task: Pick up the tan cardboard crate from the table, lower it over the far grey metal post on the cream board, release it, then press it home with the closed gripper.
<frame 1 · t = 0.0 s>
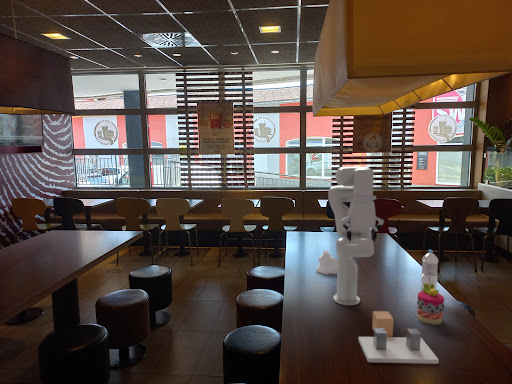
hand: (361, 240, 143), 37 cm above the table, tool pointing down, fingers open, 9 cm apart
board: (396, 351, 129), on the table
post far: (412, 351, 129), resting on board
cake: (429, 319, 153), on the table
post near: (379, 350, 129), resting on board
water bottle: (427, 300, 172), on the table
tan cardboard crate: (382, 332, 142), on the table
soft serve ice cream: (327, 271, 212), on the table
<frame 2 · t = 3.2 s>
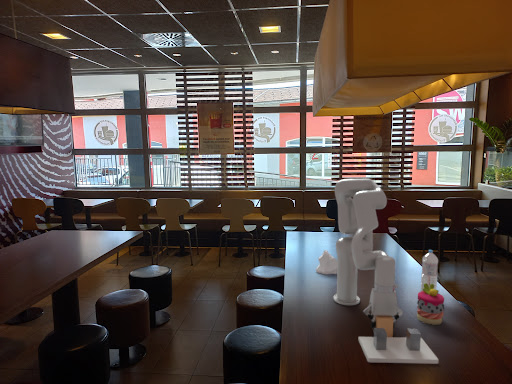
hand: (382, 329, 141), 1 cm above the table, tool pointing down, fingers closed on tan cardboard crate, 6 cm apart
tan cardboard crate: (382, 332, 142), on the table, touching gripper
everything else where it was.
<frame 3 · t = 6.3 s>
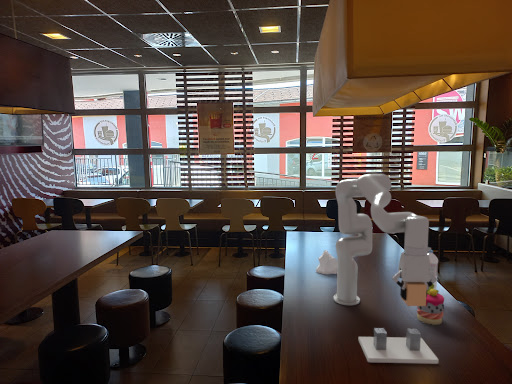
hand: (413, 298, 127), 20 cm above the table, tool pointing down, fingers closed on tan cardboard crate, 6 cm apart
tan cardboard crate: (413, 302, 127), point 19 cm above the table, touching gripper
everything else where it was.
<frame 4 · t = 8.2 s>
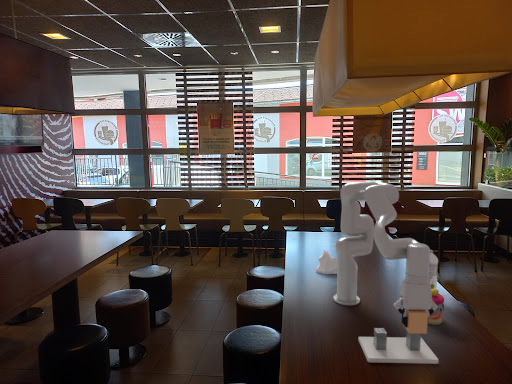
hand: (414, 325, 127), 10 cm above the table, tool pointing down, fingers closed on tan cardboard crate, 6 cm apart
tan cardboard crate: (414, 329, 127), point 9 cm above the table, touching gripper
everything else where it was.
when the fingers open (4 cm above the table, at t = 9.8 s): tan cardboard crate drops 1 cm, resting on board.
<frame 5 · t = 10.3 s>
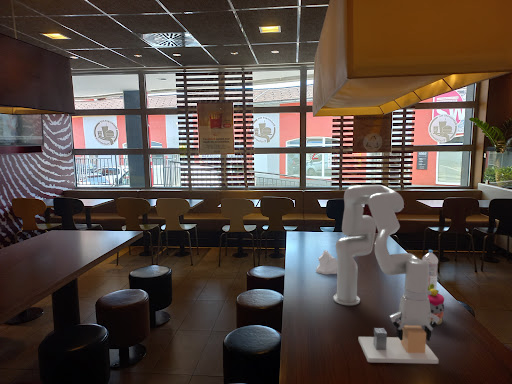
hand: (413, 338, 128), 5 cm above the table, tool pointing down, fingers open, 9 cm apart
tan cardboard crate: (412, 347, 128), point 1 cm above the table, touching board
everything else where it was.
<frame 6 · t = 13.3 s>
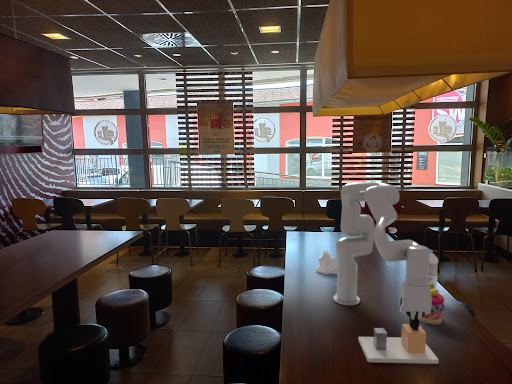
hand: (414, 328, 127), 9 cm above the table, tool pointing down, fingers closed
tan cardboard crate: (412, 347, 128), point 1 cm above the table, touching board, gripper
everything else where it was.
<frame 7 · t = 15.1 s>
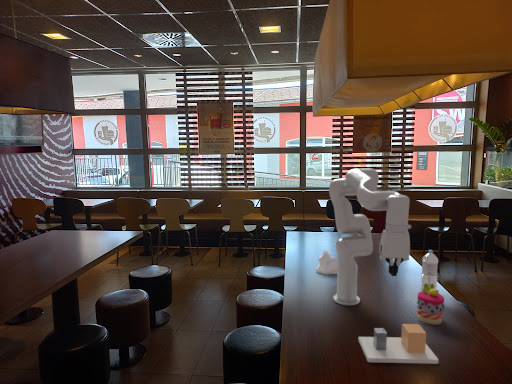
hand: (392, 274, 133), 27 cm above the table, tool pointing down, fingers closed
tan cardboard crate: (412, 347, 128), point 1 cm above the table, touching board
everything else where it was.
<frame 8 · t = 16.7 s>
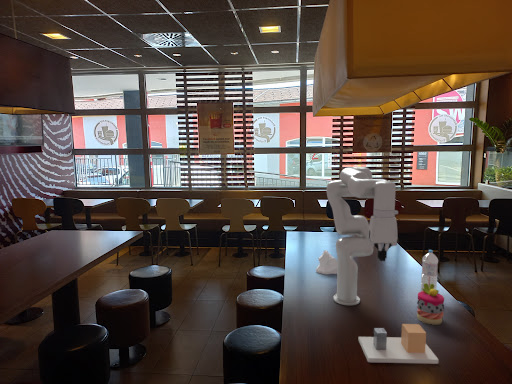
hand: (381, 260, 136), 31 cm above the table, tool pointing down, fingers closed
nothing on the table moved.
at the end: tan cardboard crate 0.0 cm from the post far (horizontally); tan cardboard crate point 1.5 cm above the table; tan cardboard crate tilted 0° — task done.
